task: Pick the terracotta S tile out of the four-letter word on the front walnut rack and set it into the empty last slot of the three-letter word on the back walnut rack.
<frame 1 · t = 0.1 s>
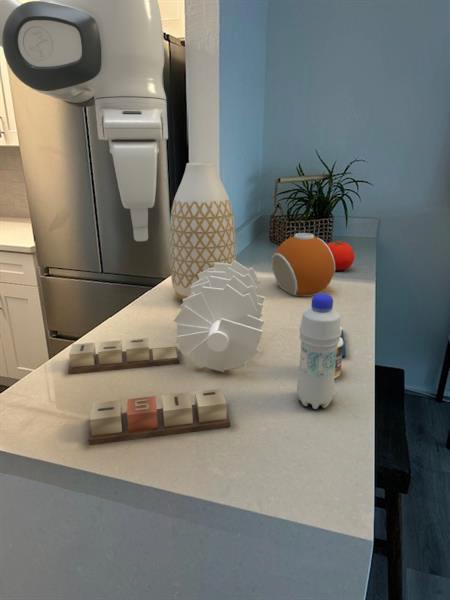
hand: (140, 233, 60), 31 cm above the counter, tool pointing down, fingers open, 8 cm apart
tomato: (334, 269, 155), on the counter
bottle: (314, 402, 76), on the counter
spiral staircase: (222, 351, 95), on the counter
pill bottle: (325, 373, 85), on the counter
front rack: (160, 424, 70), on the counter
back rack: (125, 361, 90), on the counter
alarm clock: (301, 290, 134), on the counter
vase: (204, 299, 126), on the counter
s tile: (143, 421, 69), point 1 cm above the counter, touching front rack
cell phone: (327, 343, 98), on the counter
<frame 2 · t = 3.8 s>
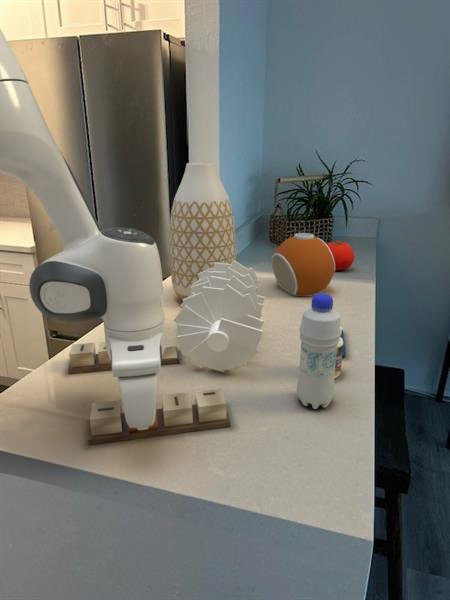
hand: (142, 416, 69), 2 cm above the counter, tool pointing down, fingers closed on s tile, 4 cm apart
s tile: (143, 420, 69), point 1 cm above the counter, touching front rack, gripper
everything else where it was.
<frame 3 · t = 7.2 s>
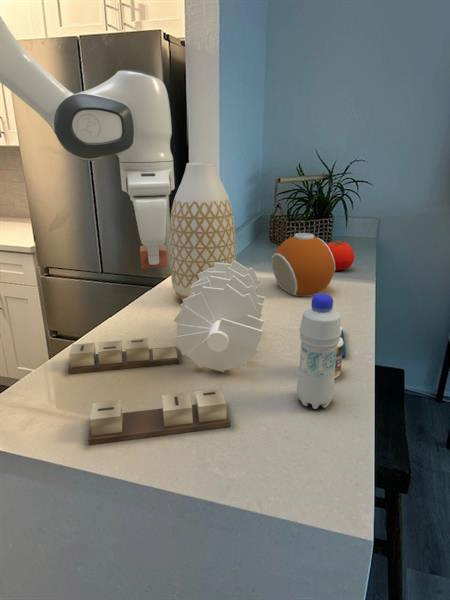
hand: (153, 259, 77), 23 cm above the counter, tool pointing down, fingers closed on s tile, 4 cm apart
s tile: (154, 264, 77), point 23 cm above the counter, touching gripper
everything else where it was.
when the fingers open (2 cm above the counter, at t = 11.0 s): s tile stays where it is, resting on back rack.
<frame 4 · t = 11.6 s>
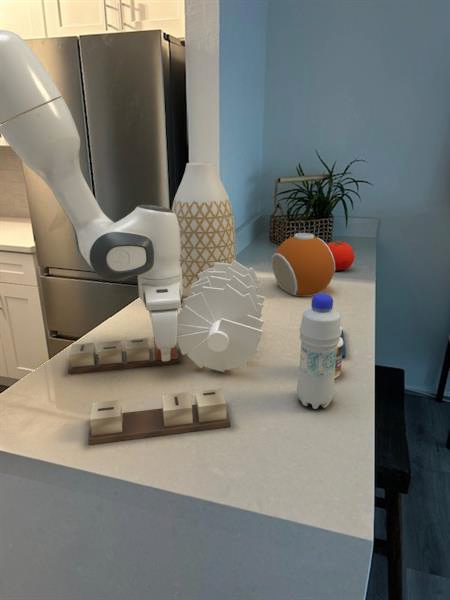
hand: (164, 349, 91), 2 cm above the counter, tool pointing down, fingers open, 8 cm apart
s tile: (165, 353, 91), point 1 cm above the counter, touching back rack
everything else where it was.
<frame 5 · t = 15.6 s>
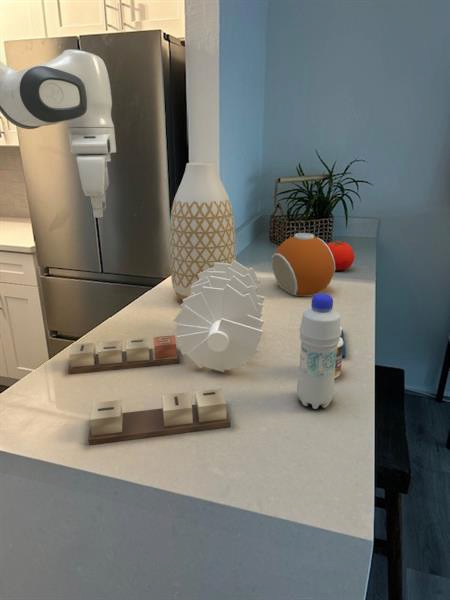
hand: (100, 213, 91), 29 cm above the counter, tool pointing down, fingers open, 8 cm apart
nothing on the counter moved.
at the end: s tile 0.2 cm from the target spot on the back rack, point 1.1 cm above the back rack's base; s tile tilted 0°; the gripper is holding nothing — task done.
